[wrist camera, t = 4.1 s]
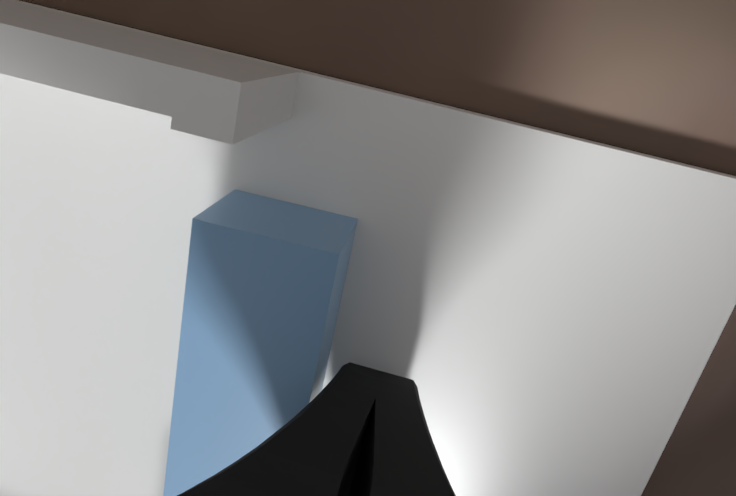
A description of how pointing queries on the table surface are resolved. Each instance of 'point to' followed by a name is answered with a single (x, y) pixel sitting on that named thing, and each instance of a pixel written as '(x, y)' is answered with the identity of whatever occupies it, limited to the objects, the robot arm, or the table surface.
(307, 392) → the pale blue rectangular prism
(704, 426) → the table surface
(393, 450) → the robot arm
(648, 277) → the white storage tray
